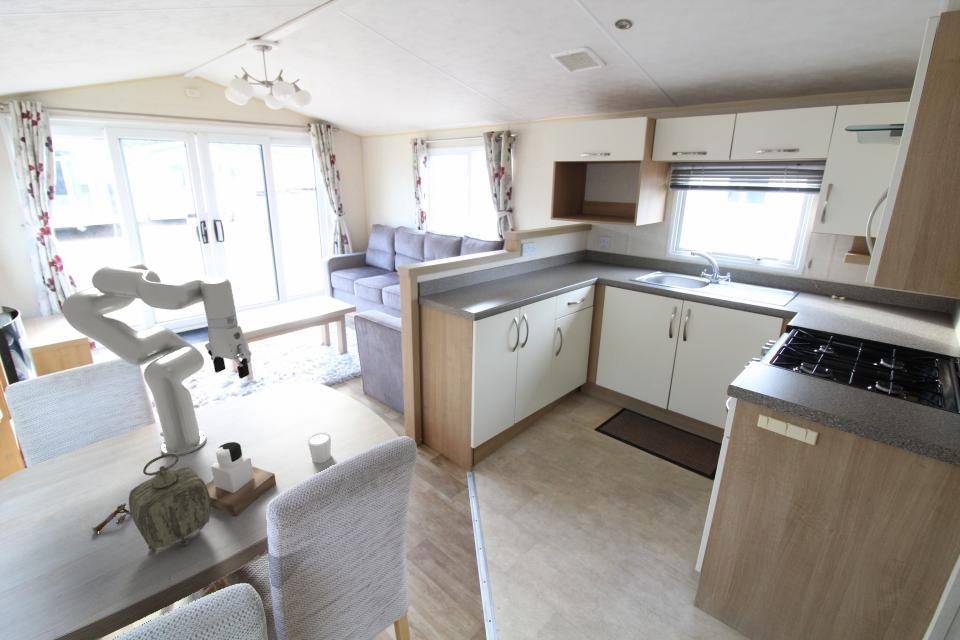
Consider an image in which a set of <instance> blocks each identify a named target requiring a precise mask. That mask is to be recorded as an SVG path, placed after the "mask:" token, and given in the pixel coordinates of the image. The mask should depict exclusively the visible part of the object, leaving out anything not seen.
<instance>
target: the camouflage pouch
mask: <svg viewBox="0 0 960 640" xmlns="http://www.w3.org/2000/svg"><path fill="white" fill-rule="evenodd" d="M178 456H179V455H178ZM178 456H177V455H175V454H162V455H160V456H157V457H155V458H153V459H152V460H150V461H148V462H147V463H146V464H145V466H144V467H143V470H142V471H143V474H144V475H145V476H154V477H152V478H150V479H147V480H146V481H144V482H141V483H140V484H138V485H136V486H134V488H133V489H131V490H130V492H129V496H128V505H129V506H128V507H129V511H130V512H131V515H130V516H131V518H132V520H133V523H134V525H135V527H136V528H137V530H138V532H139V533H140V535H141V536H142V538H143V539H144V541H145V543H146V544H147V546H148V549H149V550H155V549H161V548H165V547H168V546H170V545H172V544H174V543H176V542H177V541H180V540H181V541H180V546H181V547H187V545H188V544H189V540H188V539H187V538H186V537H188V536H190V535H191V534H193V533H195V532H196V531H198V530H200V529H202V528H203V527H204V526H206V524H208V523H209V521H210V518H211V514H212V507H211V501H210V495H209V492H208V489H207V487H206V483H205V482H204V480H203V479H202V478H201V477H200V476H199V474H197V472H195V470H194V469H193V468H192V467H191V466H190V465H186V466H185V465H184V466H179V467H175V468H173V467H174V466H176V464H177V463H178V461H179V457H178ZM168 457H173V458H175V461H174V462H173V463H171V464H170V465H168V466H167V467H165V466H164V465H162V466H161V465H160V467H159V468H158V469H159V470H158V471H154V472H147V471H146V470H147V468H149V466H150V465H151V464H153V463H155V462H157V461H159V460H161V459H164V458H168ZM172 468H173V469H172Z"/></svg>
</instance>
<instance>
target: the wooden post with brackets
mask: <svg viewBox="0 0 960 640" xmlns="http://www.w3.org/2000/svg"><path fill="white" fill-rule="evenodd" d="M126 505H127V504H126V503H122V504H120V505H118V506H116V509H115V510H114V511H113V512H112V513H110V514H109V515H108V516H107V517H106V518H105V519H104V520H103V521H102V522H101V523H99V524H98V525H96V526H95V527H91V529H92V532H94V533H96V534H97V533H98V531H100V530H101V531H102V530H103V529H104V527H105V526H106V525H107V524H108V523H110V522H112V520H114V519H115V518H116V517H117V515H118V514H123V513H125V514H123V515H120V517H118V518H117V519H116V521H121V520H122V521H123V520H125V518H126V517H127V515H129V516H131V512H130V509H126ZM122 521H121V522H122ZM101 531H100V532H101Z"/></svg>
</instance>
